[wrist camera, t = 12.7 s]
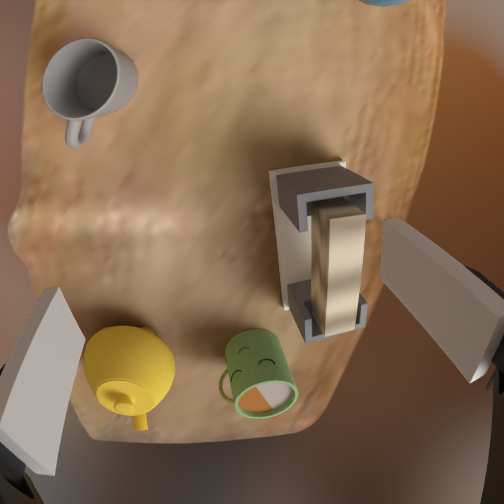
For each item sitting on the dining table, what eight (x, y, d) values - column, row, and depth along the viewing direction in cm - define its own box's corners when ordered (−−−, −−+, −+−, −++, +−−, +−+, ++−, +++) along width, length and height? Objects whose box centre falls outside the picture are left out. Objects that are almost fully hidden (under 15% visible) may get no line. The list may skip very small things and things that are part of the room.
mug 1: (86, 46, 30) (54, 33, 21) (147, 57, 33) (132, 43, 23) (63, 134, 35) (26, 148, 25) (121, 146, 38) (99, 163, 28)
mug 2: (267, 318, 54) (286, 369, 44) (287, 354, 59) (305, 403, 49) (201, 347, 55) (207, 400, 44) (227, 379, 60) (236, 429, 49)
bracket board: (268, 170, 43) (289, 191, 34) (342, 160, 44) (378, 178, 35) (282, 306, 54) (300, 347, 45) (343, 292, 55) (369, 327, 46)
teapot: (181, 389, 59) (184, 447, 47) (106, 389, 56) (98, 446, 44) (170, 310, 50) (169, 374, 38) (79, 312, 47) (58, 372, 35)
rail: (310, 201, 39) (329, 219, 34) (343, 197, 40) (366, 214, 35) (310, 310, 47) (324, 336, 42) (338, 304, 48) (354, 329, 43)
